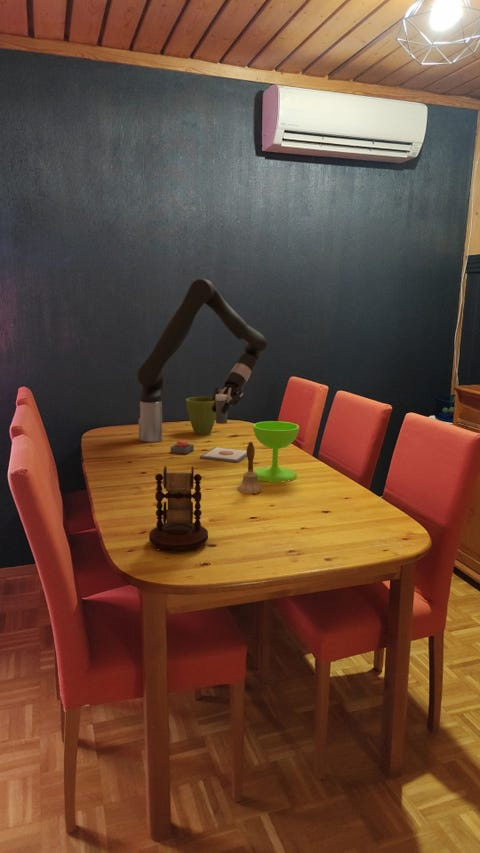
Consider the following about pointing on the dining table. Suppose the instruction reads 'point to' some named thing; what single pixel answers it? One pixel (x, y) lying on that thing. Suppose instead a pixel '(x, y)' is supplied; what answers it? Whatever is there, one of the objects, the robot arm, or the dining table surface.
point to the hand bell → (250, 474)
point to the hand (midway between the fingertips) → (218, 411)
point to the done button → (182, 443)
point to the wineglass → (275, 447)
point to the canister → (220, 402)
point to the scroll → (178, 512)
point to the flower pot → (201, 414)
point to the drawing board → (225, 455)
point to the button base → (182, 449)
